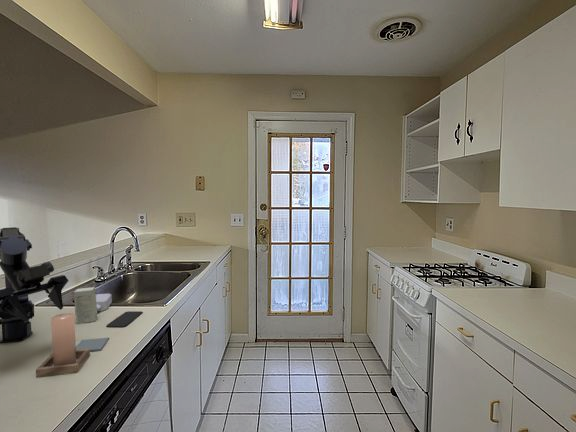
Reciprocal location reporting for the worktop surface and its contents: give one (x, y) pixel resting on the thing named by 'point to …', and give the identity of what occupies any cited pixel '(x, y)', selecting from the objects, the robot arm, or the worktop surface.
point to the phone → (124, 319)
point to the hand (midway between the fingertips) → (45, 314)
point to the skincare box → (85, 305)
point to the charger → (103, 301)
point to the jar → (63, 339)
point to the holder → (49, 370)
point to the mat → (92, 344)
